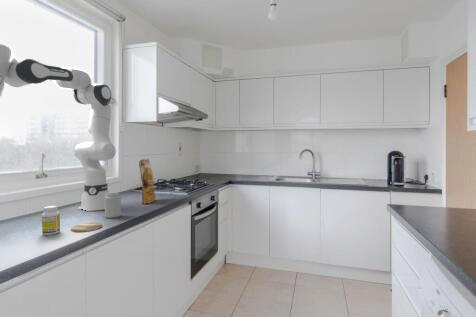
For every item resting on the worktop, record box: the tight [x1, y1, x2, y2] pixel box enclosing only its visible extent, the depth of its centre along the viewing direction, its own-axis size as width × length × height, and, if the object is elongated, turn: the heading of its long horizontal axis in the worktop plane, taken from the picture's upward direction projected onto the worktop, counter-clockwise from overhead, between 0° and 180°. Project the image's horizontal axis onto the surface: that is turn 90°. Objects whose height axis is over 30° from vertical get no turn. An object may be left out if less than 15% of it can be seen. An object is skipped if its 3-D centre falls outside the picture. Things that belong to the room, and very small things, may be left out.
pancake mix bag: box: [138, 158, 157, 204], centre depth 179 cm, size 7×19×28 cm, turn 174°
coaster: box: [70, 222, 103, 233], centre depth 122 cm, size 12×12×1 cm
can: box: [104, 192, 122, 219], centre depth 141 cm, size 8×8×12 cm
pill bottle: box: [41, 205, 61, 236], centre depth 114 cm, size 6×6×11 cm
